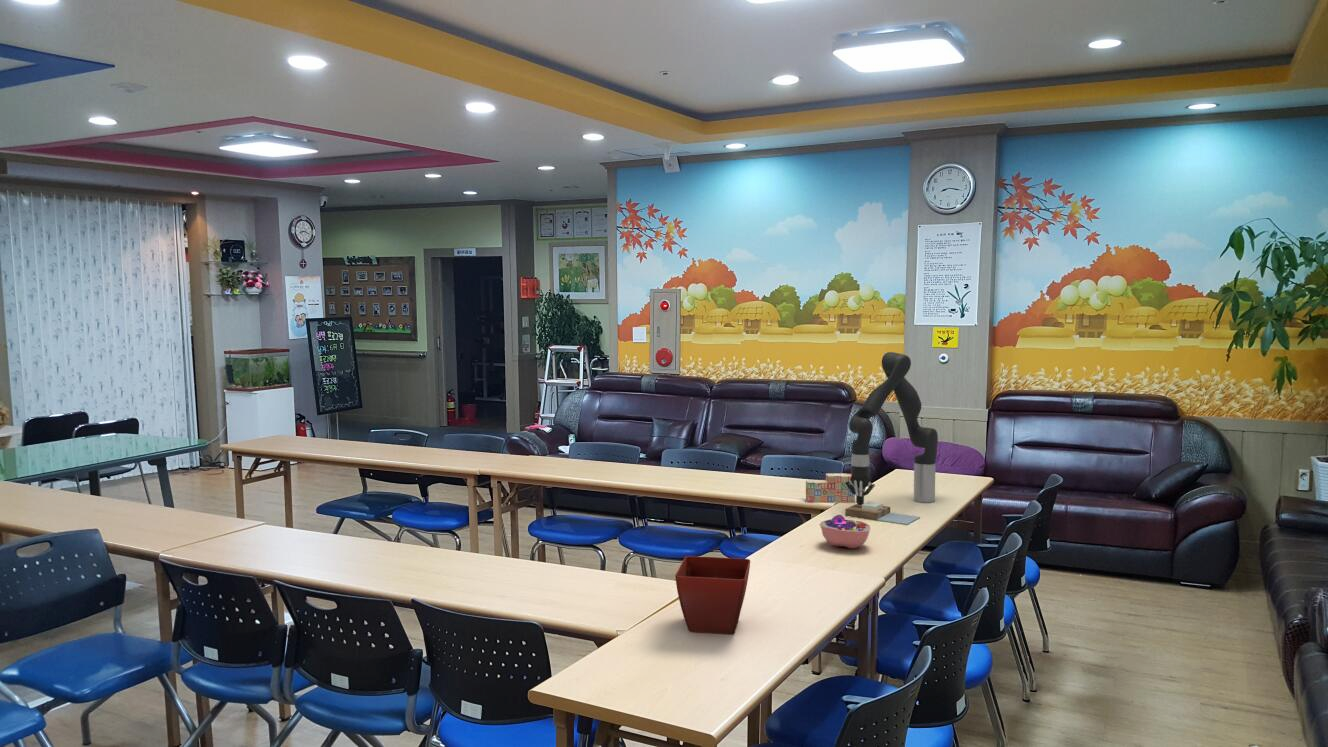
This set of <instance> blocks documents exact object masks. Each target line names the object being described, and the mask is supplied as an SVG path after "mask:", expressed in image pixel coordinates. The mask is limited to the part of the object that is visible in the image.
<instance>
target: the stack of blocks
mask: <svg viewBox="0 0 1328 747" xmlns="http://www.w3.org/2000/svg"><path fill="white" fill-rule="evenodd" d="M850 478H851V473H844V472H843V473H842V472H841V473H840V472H839V473H825V479H806V480H805V500H806V502H807V503H827V504H828V503H829V504H830V503H831V504H832V503H835V504H836V503H839V504H840V503H841V504H850V503H851V504H855V503H856V500H855V499H856V495H855V494H852V493H851V491H850V490H849V488H848V487H847V485H846V482H847V481H849V480H850ZM852 485H853V483H852ZM853 486H854V485H853ZM854 488H855V486H854Z"/></svg>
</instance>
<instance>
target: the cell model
mask: <svg viewBox="0 0 1328 747" xmlns="http://www.w3.org/2000/svg"><path fill="white" fill-rule="evenodd" d="M819 527H820V529H821V534H822V537H823V538H824V539H825V540H826V542H827V543H828V544H829V545H831V546H834V547H840V548H841V547H842V548H843V547H844V548H848V549H856V548H859V547H861V546H863V545H865V543H866V542H867V540H868V538H869V534H870V531H871V525H870V524H868V523H866V522H864V521H858V520H853V519H846V518H845V516H843V515H841V514H836V515H834V516H833V517H832V518H831V519H826V520H824V521H823V520H822V521H821V522H820V523H819Z"/></svg>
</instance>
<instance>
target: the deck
mask: <svg viewBox="0 0 1328 747" xmlns="http://www.w3.org/2000/svg"><path fill="white" fill-rule="evenodd" d="M865 503H866V502H864V503H863V504H865ZM844 510H845V511H844V515H845V516H844V517H848V516H850V518H855V517H857V518H858V519H862V518H863V520H869V521H876V522H877V519H879V518H881V517H883V516H885V515H887V514H889V513H891V506H887V505H883V508H881V509H879V510H877V511H869V510H862V505H858V504H857V503H856V504H855V503H854V504H853V505H852V506H849V507H847V508H845V509H844Z"/></svg>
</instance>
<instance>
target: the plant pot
mask: <svg viewBox="0 0 1328 747" xmlns="http://www.w3.org/2000/svg"><path fill="white" fill-rule="evenodd" d="M750 566H751V559H749V558H736V557H735V558H734V557H716V556H715V557H714V556H696V555H686V556H684V558H683V560H682V562H681V564H680V566H679V567H678V569H677V571H676V573H675V584H676V591H677V595H678V601H679V604H680V609H681V612H682V615H683V618H684V622H685V625H686V627H687V630H688V631H689V632H690V633H691V632H693V633H708V634H720V635H721V634H722V635H723V634H724V635H734V634H735V633H736V630H737V627H738V623H739V620H740V615H741V611H742V607H743V605H744V601H745V596H746V591H747V585H748V580H749V575H750V569H751V568H750Z"/></svg>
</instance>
